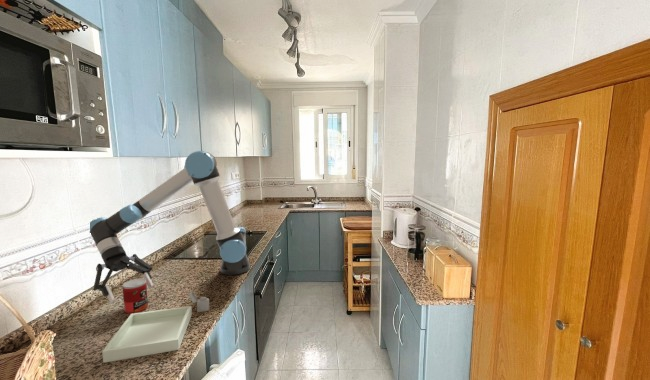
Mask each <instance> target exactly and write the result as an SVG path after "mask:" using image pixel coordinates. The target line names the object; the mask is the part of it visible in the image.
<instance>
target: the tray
mask: <svg viewBox="0 0 650 380" xmlns="http://www.w3.org/2000/svg"><path fill="white" fill-rule="evenodd" d="M192 307H193V306H192V305H187V306H179V307H173V308H165V309H157V310H150V311H142V312H139V313H133V314H129V316H128V318H127V319H126V320H125V321H124V322H123V324H122V325H121V326H120V328H119V329H118V330H117V332H116V333H115V334H114V336H113V337H112V338H111V340H110V341H109V342H108V344H107V345H106V346H104V347H105V348H104V349H103V350H102V351H101V353H102V355H101V356H102V362H103V363H108V362H110V363H111V362H115V361H121V360H127V359H133V358H139V357H145V356H152V355H157V354H161V353H163V354H164V353H167V352H175V351H180V347H181V345H182V342H183V340H184V337H185V335H186V332H187V328H188V326H189V323H190V321H191V317H192V315H193V310H192Z"/></svg>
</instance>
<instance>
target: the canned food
mask: <svg viewBox="0 0 650 380" xmlns="http://www.w3.org/2000/svg"><path fill="white" fill-rule="evenodd" d="M121 288H122V298H123V306H124V308H123V309H124V312H125V313H126V314H128V315H131V314H133V313H141V312H144V311H145V310H146V309H148V306H149V301H148V299H149V298H148V285H147V283H146V280H145V279H144V278H134V279H130V280H127V281H126V282H124V283H122V287H121Z"/></svg>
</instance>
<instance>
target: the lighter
mask: <svg viewBox="0 0 650 380" xmlns="http://www.w3.org/2000/svg"><path fill="white" fill-rule="evenodd" d="M187 295H188V297H189V299H190V301H192V303H193V304H195V303H196V307H197V309H196V310H197V313H201V312H207V311H208V312H209V311H210V298H207V297H206V296H201V297H200V298H198V297H197V296H196V294H195V293H194V292H193V291H190V292H189V293H188V294H187Z"/></svg>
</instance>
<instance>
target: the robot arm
mask: <svg viewBox="0 0 650 380" xmlns="http://www.w3.org/2000/svg"><path fill="white" fill-rule="evenodd" d="M217 166H218V165H217V159H216V158H215V156H214V155H213V154H212V153H210V152H207V151H204V150H196V151H194V152H191V153H190V154H188V155H187V156H186V158H185V162H184V167H183V169H181V170H180V171H179V172H177V173H175V174H174V175H172V176H171V177H170V178H168V179H167V180H166V181H164V182H163V183H161V184H160V185H159V186H157V187H156V188H154V189H152V190H151V191H150V192H148V193H146V195H144V196H142V197H141V198H140V199H138V200H137V201H136V202H133V204H128V205H127V206H124V207H122V208H121V209H120V210H118V211H116V212H115V213H113V214H112V215H110V216H109V217H102V216H101V217H97V218H96V219H95V218H94V219H92V220H91V221H89V223H90V231H89V234H90V233H91V235H90V236H91V238H92V239H93V241H94V243H95V246H96V248H97V251H98V252H99V255H100V256H101V259H102V261H103V264H101V263H98V264H97V265H96V267H95V270H96V275H95V280H94V285H93V288H92V289H93V291H97V290H99V291H100V292H101V293H102V295H103V297H104V298H106V297H107V299H108V301H109V303H110V305H113V304H114V303H115V301H116V298H115V296H114V294H113V292H112V289H111V288H110V286H109V285H107V283H108V282H109V280H110V278H111V275H112V273H113V272H119V271H122V270H125V269H126V270H131V271H135V272H137V273H140V274H142V279H145V280H146V284H147V288H148V289H149V290H151V289H153V286H154V283H153V281H152V278H153V277H152V275H151V273H150V272H152V270H153V266H151V265H150V264H149V263H147V262H146V261H144V260H143V259H142V258H140V257H139V256H138V255H137V254H136V253H133V254H132V255H131V256H128V255H127V252H126V251H125V249H124V247H123V246H122V243H121V241H120V239H119V237H118V234H119V233H121V232H122V231H124V230H126V229H127V228H128V227H130V226H132V225H133V224H135V223H137V222H138V221H140V220H142V219H144V218H145V217H146V216H147V215H149V214H150V213H151V212H152V211H154V210H156V208H158V207H160V206H161V205H162V204H164V203H165V202H167V201H168V200H170V199H171V198H172V197H173V196H175V195H177V194H178V193H179V192H181V191H182V190H183V189H185V188H186V187H188V186H189V185H190V184H192V183H193V184H194V185H195V186H198V188H199V190H200V193H201V195H202V198H203V200H204V204H205V206H206V208H207V211H208V213H209V216H210V219H211V221H212V223H213V225H214V229H215V231H216V237H215V240H216V241H215V242H216V243H217V246H218V248H219V256H220V257H221V259H222V260H221V264H220V267H219V269H220V273H221V274H223V275H227V276H235V275H241V274H244V273H246V272H248V271H249V270H250V268H251V266H250V261H249V258H248V255H247V242H246V238H247V237H246V233H247V232H246V228H245V227H243V226H236V224H235V221H234V219H233V217H232V214H231V212H230V209H229V206H228V203H227V200H226V198H225V195H224V193H223V190H222V188H221V185H220V182H219V179H220V178H221V174H220V173H219V169H218V167H217ZM105 268H106V269H108V272H107V274H106V276H105V277H104V280H103V281H102V283H101V278H102V273H103V270H104V269H105ZM100 283H101V284H100Z"/></svg>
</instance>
